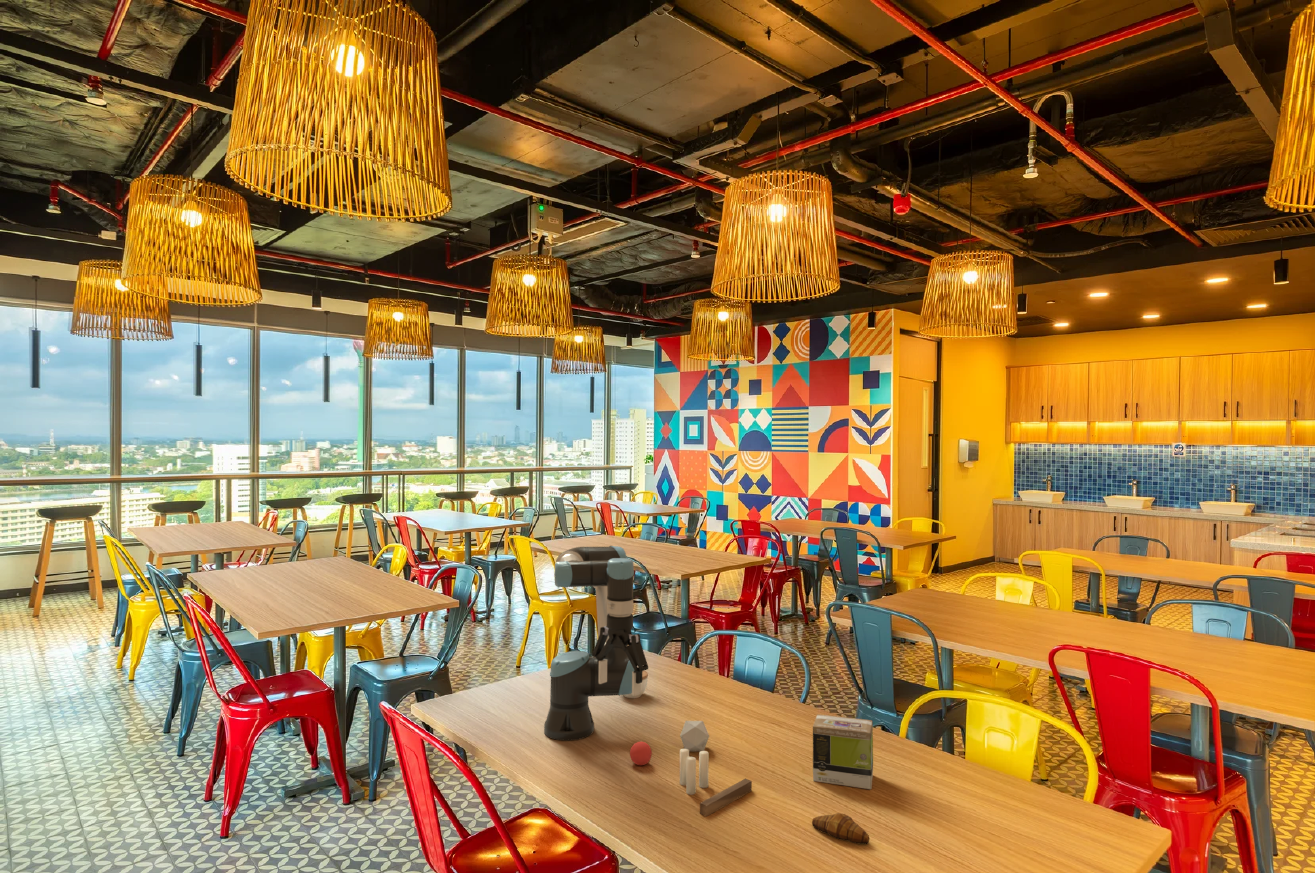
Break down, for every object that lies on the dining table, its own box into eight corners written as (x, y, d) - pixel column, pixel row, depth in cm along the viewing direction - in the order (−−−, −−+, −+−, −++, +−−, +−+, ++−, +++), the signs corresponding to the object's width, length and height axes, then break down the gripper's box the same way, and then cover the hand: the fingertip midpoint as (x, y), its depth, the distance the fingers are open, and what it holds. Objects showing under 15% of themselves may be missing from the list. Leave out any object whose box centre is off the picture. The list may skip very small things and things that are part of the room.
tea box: (873, 774, 197) (873, 719, 197) (871, 791, 188) (871, 733, 188) (816, 765, 202) (816, 712, 202) (811, 781, 192) (812, 725, 193)
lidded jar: (647, 700, 252) (647, 673, 252) (616, 700, 252) (616, 673, 252) (648, 690, 262) (648, 664, 262) (618, 689, 262) (618, 663, 262)
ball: (625, 764, 202) (625, 742, 202) (640, 757, 206) (640, 736, 206) (640, 771, 198) (640, 748, 198) (656, 764, 202) (656, 742, 202)
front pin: (677, 783, 191) (677, 750, 191) (683, 780, 193) (684, 747, 193) (684, 786, 189) (684, 753, 189) (690, 783, 191) (690, 750, 191)
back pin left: (697, 785, 190) (697, 752, 190) (703, 782, 191) (703, 749, 191) (704, 788, 188) (704, 755, 188) (710, 785, 190) (710, 752, 190)
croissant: (874, 839, 165) (875, 816, 165) (863, 852, 159) (863, 829, 159) (818, 820, 173) (818, 798, 173) (806, 832, 167) (806, 810, 168)
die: (699, 760, 206) (716, 729, 209) (673, 743, 208) (691, 712, 211) (697, 759, 214) (714, 729, 217) (672, 742, 215) (689, 712, 218)
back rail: (699, 813, 175) (700, 802, 175) (745, 788, 188) (745, 778, 188) (706, 816, 174) (706, 805, 174) (751, 790, 187) (751, 780, 187)
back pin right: (684, 792, 186) (684, 758, 186) (690, 789, 188) (690, 755, 188) (691, 795, 184) (691, 761, 184) (697, 792, 186) (697, 758, 186)
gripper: (580, 608, 214) (580, 681, 214) (642, 624, 198) (641, 702, 198) (599, 604, 220) (598, 674, 220) (661, 619, 203) (660, 695, 203)
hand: (619, 688), depth 209 cm, fingers open, 13 cm apart
